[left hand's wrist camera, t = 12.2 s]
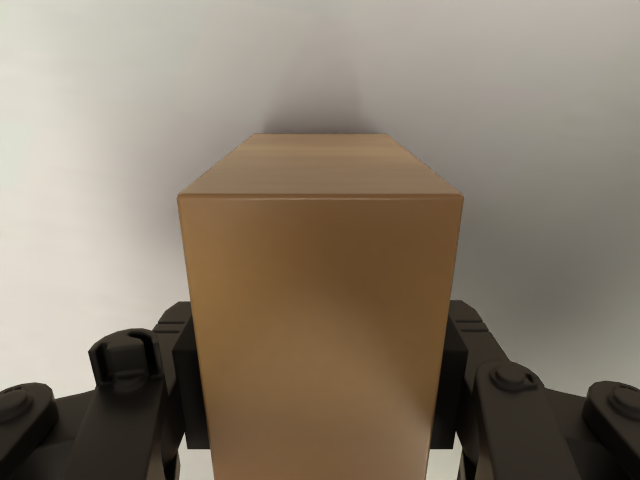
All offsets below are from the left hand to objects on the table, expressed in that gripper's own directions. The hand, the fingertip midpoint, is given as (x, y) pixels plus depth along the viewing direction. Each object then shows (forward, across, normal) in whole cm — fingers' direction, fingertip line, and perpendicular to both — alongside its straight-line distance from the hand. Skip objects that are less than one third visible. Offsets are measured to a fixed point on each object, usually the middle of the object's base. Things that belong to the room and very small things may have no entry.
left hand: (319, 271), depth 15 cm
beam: (+1, 0, -27) cm, 27 cm away
